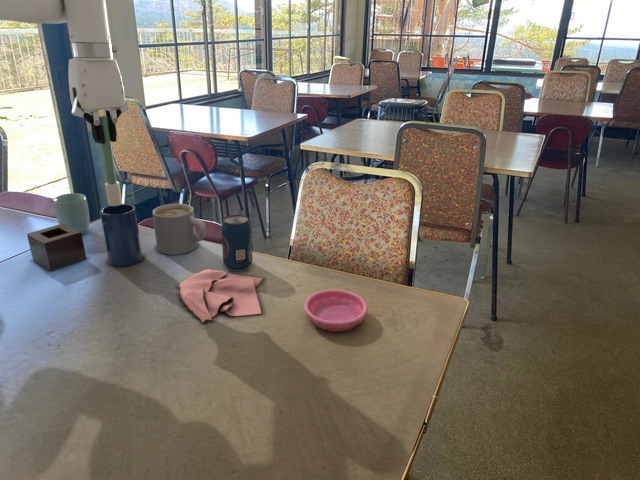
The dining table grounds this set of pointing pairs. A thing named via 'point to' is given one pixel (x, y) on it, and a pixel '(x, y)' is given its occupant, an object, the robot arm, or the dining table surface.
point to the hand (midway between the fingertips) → (105, 141)
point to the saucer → (335, 310)
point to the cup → (72, 211)
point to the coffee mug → (176, 228)
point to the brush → (110, 167)
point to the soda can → (236, 242)
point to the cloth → (220, 294)
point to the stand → (56, 246)
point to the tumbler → (121, 234)
